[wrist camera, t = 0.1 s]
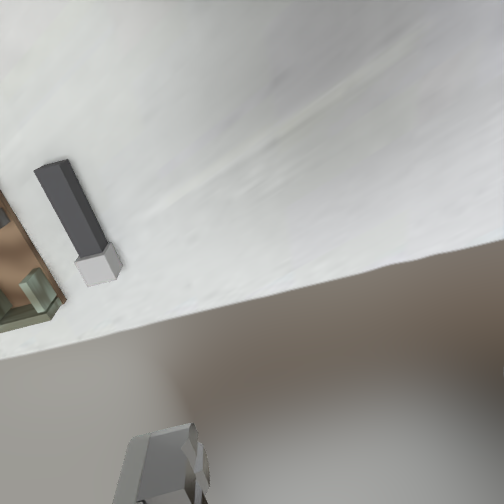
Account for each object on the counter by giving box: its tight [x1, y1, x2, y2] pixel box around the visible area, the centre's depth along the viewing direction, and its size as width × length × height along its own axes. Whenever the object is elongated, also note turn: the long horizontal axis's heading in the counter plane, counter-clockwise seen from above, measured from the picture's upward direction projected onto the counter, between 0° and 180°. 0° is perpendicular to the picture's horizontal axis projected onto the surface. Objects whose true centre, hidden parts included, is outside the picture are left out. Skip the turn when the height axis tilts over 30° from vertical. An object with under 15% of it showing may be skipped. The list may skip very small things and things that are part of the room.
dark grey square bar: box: [34, 159, 123, 287], centre depth 43 cm, size 16×4×4 cm, turn 12°
